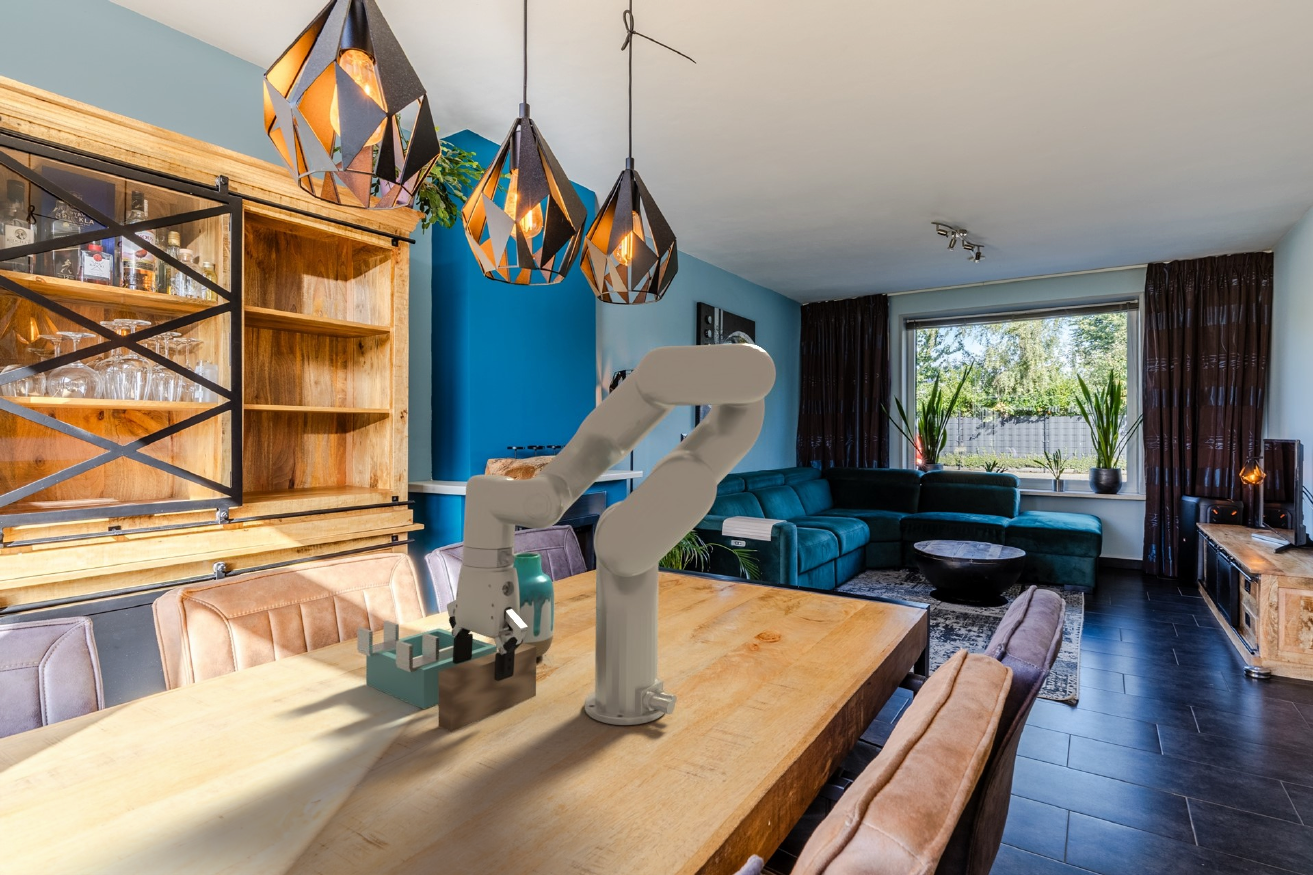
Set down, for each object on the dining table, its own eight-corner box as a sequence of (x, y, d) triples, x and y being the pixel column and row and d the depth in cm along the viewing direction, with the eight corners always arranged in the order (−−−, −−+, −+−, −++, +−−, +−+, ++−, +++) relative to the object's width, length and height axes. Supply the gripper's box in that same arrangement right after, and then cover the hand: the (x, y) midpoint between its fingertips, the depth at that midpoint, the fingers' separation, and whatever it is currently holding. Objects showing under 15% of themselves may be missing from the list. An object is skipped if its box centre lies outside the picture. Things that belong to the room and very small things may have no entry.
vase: (483, 661, 121) (484, 556, 120) (521, 644, 130) (522, 547, 130) (530, 671, 116) (530, 562, 115) (565, 653, 125) (566, 552, 125)
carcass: (496, 681, 111) (496, 645, 111) (423, 709, 100) (423, 669, 100) (438, 660, 120) (439, 628, 120) (366, 684, 109) (366, 648, 109)
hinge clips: (439, 662, 103) (439, 637, 103) (409, 672, 98) (409, 646, 98) (386, 644, 111) (386, 620, 111) (357, 652, 107) (357, 627, 107)
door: (523, 691, 107) (523, 642, 107) (535, 696, 105) (536, 646, 105) (438, 726, 94) (438, 671, 94) (451, 732, 92) (451, 676, 92)
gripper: (546, 563, 97) (540, 678, 98) (472, 545, 108) (466, 650, 108) (507, 570, 91) (500, 692, 91) (432, 551, 102) (426, 661, 102)
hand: (482, 669), depth 100 cm, fingers open, 9 cm apart
